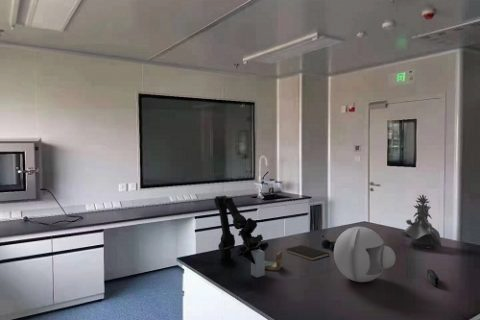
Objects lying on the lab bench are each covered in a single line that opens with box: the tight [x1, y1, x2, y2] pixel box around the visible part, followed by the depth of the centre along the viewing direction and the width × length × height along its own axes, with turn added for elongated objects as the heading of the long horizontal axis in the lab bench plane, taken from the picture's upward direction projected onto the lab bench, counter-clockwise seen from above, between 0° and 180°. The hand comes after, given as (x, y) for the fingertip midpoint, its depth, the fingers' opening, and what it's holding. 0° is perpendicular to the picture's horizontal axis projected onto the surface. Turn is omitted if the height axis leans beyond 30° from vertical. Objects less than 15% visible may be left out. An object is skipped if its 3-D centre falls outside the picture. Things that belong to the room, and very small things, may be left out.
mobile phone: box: [426, 268, 441, 289], centre depth 180 cm, size 5×3×15 cm
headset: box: [321, 235, 336, 252], centre depth 241 cm, size 13×9×19 cm
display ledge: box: [265, 250, 283, 272], centre depth 205 cm, size 12×8×9 cm, turn 69°
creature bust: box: [401, 194, 442, 249], centre depth 244 cm, size 24×23×35 cm
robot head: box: [333, 226, 397, 283], centre depth 183 cm, size 28×30×28 cm
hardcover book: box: [285, 244, 330, 261], centre depth 231 cm, size 16×23×2 cm
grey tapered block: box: [250, 249, 266, 278], centre depth 193 cm, size 5×6×13 cm
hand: (259, 262), depth 192 cm, fingers closed on grey tapered block, 5 cm apart
